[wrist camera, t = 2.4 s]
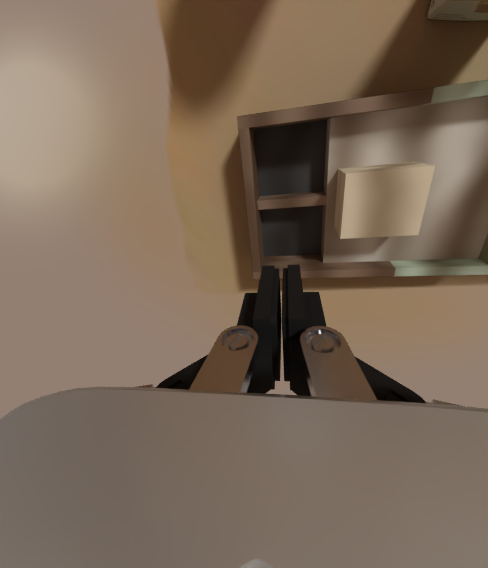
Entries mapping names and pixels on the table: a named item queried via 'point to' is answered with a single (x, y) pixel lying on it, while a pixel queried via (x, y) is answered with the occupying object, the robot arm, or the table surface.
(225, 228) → the table surface
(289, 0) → the table surface
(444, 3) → the skincare box
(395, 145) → the track
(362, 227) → the maple block
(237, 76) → the table surface
